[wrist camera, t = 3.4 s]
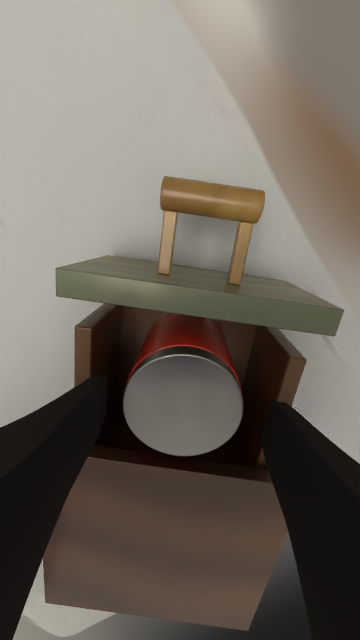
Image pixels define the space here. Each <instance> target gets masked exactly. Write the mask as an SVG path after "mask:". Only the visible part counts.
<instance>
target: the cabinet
mask: <svg viewBox="0 0 360 640" xmlns="http://www.w3.org/2000/svg"><path fill="white" fill-rule="evenodd" d="M287 532H288V528H287V525H286V522H285V519H284V516H283V513H282V510H281V507H280V504H279V501H278V498H277V495H276V492H275V489H274V486H273V483H272V480H271V477H270V474H269V471H268V469H261V468H254V467H247V466H239V465H232V464H225V463H218V462H211V461H204V460H197V459H190V458H183V457H176V456H169V455H162V454H155V453H147V452H140V451H133V450H126V449H119V448H112V447H105V446H98V445H94V446H93V448H92V450H91V452H90V453H89V455H88V457H87V459H86V461H85V463H84V465H83V467H82V469H81V471H80V473H79V475H78V477H77V479H76V481H75V483H74V484H73V486H72V488H71V490H70V493H69V495H68V497H67V499H66V501H65V504H64V506H63V508H62V511H61V513H60V516H59V518H58V521H57V523H56V526H55V528H54V530H53V533H52V536H51V538H50V541H49V543H48V546H47V548H46V551H45V553H44V556H43V567H44V586H45V603H50V604H57V605H65V606H72V607H79V608H86V609H94V610H101V611H108V612H115V613H123V614H130V615H138V616H145V617H152V618H159V619H166V620H173V621H181V622H188V623H195V624H202V625H210V626H217V627H224V628H232V629H239V630H247V631H248V629H249V626H250V624H251V622H252V619H253V617H254V614H255V612H256V609H257V607H258V604H259V601H260V599H261V597H262V594H263V592H264V589H265V587H266V584H267V582H268V579H269V577H270V574H271V572H272V570H273V567H274V564H275V562H276V560H277V557H278V555H279V552H280V550H281V547H282V545H283V542H284V540H285V537H286V535H287Z"/></svg>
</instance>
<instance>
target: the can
mask: <svg viewBox="0 0 360 640" xmlns="http://www.w3.org/2000/svg"><path fill="white" fill-rule="evenodd" d="M243 411H244V402H243V396H242V392H241V386H240V382H239V379H238V376H237V373H236V370H235V367H234V364H233V361H232V358H231V355H230V352H229V349H228V346H227V343H226V340H225V337H224V334H223V332H222V330H221V328H220V326H219V324H218V323H217V321H216V320H215V319H211V318H204V317H197V316H190V315H183V314H176V313H169V312H165V313H163V314H162V315H161V316H159V317H158V318H157V319H156V321H155V322H154V323H153V325H152V326H151V328H150V330H149V332H148V334H147V336H146V339H145V341H144V343H143V345H142V348H141V350H140V352H139V355H138V357H137V359H136V361H135V364H134V366H133V368H132V371H131V373H130V375H129V378H128V381H127V385H126V387H125V391H124V394H123V412H124V416H125V419H126V422H127V424H128V426H129V427H130V429H131V430H132V432H133V433H134V434H135V435H136V437H138V438H139V439H140V440H141V441H142V442H143V443H145V444H146V445H148V446H149V447H151V448H153V449H155V450H157V451H160V452H163V453H166V454H170V455H176V456H193V455H199V454H204V453H207V452H210V451H212V450H214V449H216V448H218V447H220V446H221V445H223V444H224V443H225V442H227V441H228V440H229V439H230V438H231V437H232V436H233V434H234V433H235V432H236V430H237V428H238V427H239V425H240V422H241V419H242V416H243Z"/></svg>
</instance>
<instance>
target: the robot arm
mask: <svg viewBox="0 0 360 640" xmlns="http://www.w3.org/2000/svg"><path fill="white" fill-rule="evenodd" d="M107 383H108V377H106V376H99V375H93V376H91V377H90V378H88V379H86V380H85V381H83V382H82V383H80V384H79V385H77V386H76V387H74V388H73V389H71V390H70V391H68V392H67V393H65V394H63V395H62V396H60V397H59V398H57V399H55V400H54V401H52V402H50V403H48V404H47V405H45V406H43V407H41V408H40V409H38V410H36V411H34V412H32V413H30V414H29V415H27V416H25V417H23V418H21V419H18V420H16V421H14V422H12V423H10V424H8V425H6V426H3V427H1V428H0V640H12V639H13V636H14V634H15V631H16V628H17V625H18V623H19V620H20V617H21V614H22V612H23V609H24V606H25V603H26V601H27V598H28V595H29V593H30V590H31V587H32V585H33V582H34V579H35V577H36V574H37V571H38V569H39V566H40V564H41V561H42V558H43V556H44V553H45V551H46V548H47V546H48V543H49V541H50V538H51V536H52V533H53V530H54V528H55V526H56V523H57V521H58V518H59V516H60V513H61V511H62V508H63V506H64V504H65V501H66V499H67V497H68V495H69V493H70V490H71V488H72V486H73V484H74V483H75V481H76V479H77V477H78V475H79V473H80V471H81V469H82V467H83V465H84V463H85V461H86V459H87V457H88V455H89V453H90V452H91V450H92V448H93V446H94V444H95V442H96V440H97V438H98V435H99V432H100V430H101V427H102V424H103V422H104V419H105V416H106V401H107ZM261 442H262V447H263V453H264V457H265V462H266V465H267V468H268V471H269V474H270V477H271V480H272V483H273V486H274V489H275V492H276V495H277V498H278V501H279V504H280V507H281V510H282V513H283V516H284V519H285V522H286V525H287V528H288V532H289V536H290V540H291V543H292V548H293V552H294V556H295V560H296V564H297V569H298V573H299V578H300V582H301V587H302V591H303V596H304V601H305V605H306V610H307V616H308V621H309V625H310V631H311V636H312V640H360V464H359V463H358V462H356V461H355V460H354V459H352V458H351V457H350V456H349V455H347V454H346V453H345V452H344V451H342V450H341V449H340V448H339V447H337V446H336V445H335V444H334V443H333V442H331V441H330V440H329V439H328V438H327V437H325V436H324V435H323V434H322V433H321V432H320V431H318V430H317V429H316V428H315V427H314V426H313V425H312V424H311V423H309V422H308V421H307V420H306V419H305V418H304V417H303V416H302V415H300V414H299V413H298V412H297V411H296V410H295V409H293V408H292V407H291V406H290V405H289V404H287V403H285V402H278V401H272V403H271V406H270V409H269V413H268V416H267V419H266V422H265V426H264V429H263V432H262V436H261Z"/></svg>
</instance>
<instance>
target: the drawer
mask: <svg viewBox="0 0 360 640" xmlns="http://www.w3.org/2000/svg"><path fill="white" fill-rule="evenodd" d="M264 202H265V192H264V191H263V190H256V189H250V188H243V187H236V186H229V185H222V184H216V183H209V182H202V181H195V180H189V179H182V178H175V177H168V176H165V177H164V178H163V181H162V186H161V196H160V206H161V209H162V210H165V211H164V218H163V228H162V237H161V246H160V255H159V263H157V262H150V261H143V260H136V259H129V258H122V257H116V256H109V255H107V256H103V257H99V258H95V259H91V260H87V261H83V262H79V263H75V264H71V265H67V266H63V267H59V268H56V296H58V297H65V298H72V299H79V300H86V301H93V302H100V303H104V304H103V305H101V306H100V307H99V308H98V309H96V310H95V311H94V312H93V313H91V314H90V315H89V316H88V317H86V318H85V319H84V320H82V321H81V322H80V323H79V324H77V325H76V326H75V387H76V386H77V385H79V384H80V383H82V382H83V381H85V380H86V379H88V378H90V377H91V376H93V375H99V376H106V377H108V383H107V401H106V416H105V419H104V422H103V424H102V427H101V430H100V432H99V435H98V438H97V440H96V442H95V444H94V445H98V446H105V447H112V448H119V449H126V450H133V451H140V452H147V453H155V454H162V455H169V456H176V455H170V454H166V453H163V452H160V451H157V450H155V449H153V448H151V447H149V446H148V445H146V444H145V443H143V442H142V441H141V440H140V439H139V438H138V437H136V435H135V434H134V433H133V432H132V430H131V429H130V427H129V426H128V424H127V422H126V419H125V416H124V412H123V394H124V391H125V387H126V385H127V381H128V378H129V375H130V373H131V371H132V368H133V366H134V364H135V361H136V359H137V357H138V355H139V352H140V350H141V348H142V345H143V343H144V341H145V339H146V336H147V334H148V332H149V330H150V328H151V326H152V325H153V323H154V322H155V321H156V319H157V318H158V317H159V316H161V315H162V314H163V313H165V312H169V313H176V314H183V315H190V316H197V317H204V318H211V319H215V320H216V321H217V323H218V324H219V326H220V328H221V330H222V332H223V334H224V337H225V340H226V343H227V346H228V349H229V352H230V355H231V358H232V361H233V364H234V367H235V370H236V373H237V376H238V379H239V382H240V386H241V392H242V396H243V402H244V411H243V416H242V419H241V422H240V425H239V427H238V428H237V430H236V432H235V433H234V434H233V436H232V437H231V438H230V439H229V440H228V441H227V442H225V443H224V444H223V445H221V446H220V447H218V448H216V449H214V450H212V451H210V452H207V453H204V454H199V455H193V456H176V457H183V458H190V459H197V460H204V461H211V462H218V463H225V464H232V465H239V466H247V467H254V468H261V469H268V468H267V465H266V462H265V457H264V453H263V447H262V442H261V436H262V432H263V429H264V426H265V422H266V419H267V416H268V413H269V409H270V406H271V403H272V401H278V402H285V403H287V404H289V405H290V406H291V405H292V402H293V399H294V396H295V393H296V390H297V387H298V384H299V381H300V378H301V375H302V372H303V369H304V366H305V363H306V359H305V357H304V356H303V355H302V354H301V353H300V352H299V351H298V350H297V349H296V348H295V347H294V346H293V345H292V343H291V342H290V341H289V340H288V339H287V338H286V337H285V336H284V335H283V334H282V333H281V332H280V331H279V329H278V328H280V329H287V330H294V331H301V332H308V333H314V334H321V335H328V336H335V334H336V331H337V329H338V326H339V323H340V320H341V317H342V315H343V312H344V310H343V309H341V308H339V307H337V306H335V305H333V304H331V303H329V302H327V301H325V300H323V299H321V298H319V297H317V296H315V295H313V294H311V293H309V292H306V291H304V290H302V289H300V288H298V287H296V286H294V285H292V284H290V283H288V282H286V281H281V280H274V279H267V278H260V277H253V276H246V275H242V274H243V269H244V264H245V260H246V255H247V250H248V246H249V241H250V236H251V232H252V227H253V224H255V223H257V222H258V221H259V219H260V217H261V214H262V211H263V207H264ZM177 212H178V213H185V214H192V215H199V216H206V217H212V218H219V219H226V220H233V221H240V222H239V223H238V227H237V232H236V238H235V243H234V248H233V253H232V258H231V263H230V268H229V273H226V272H219V271H212V270H205V269H198V268H191V267H184V266H177V265H171V264H172V256H173V249H174V241H175V233H176V225H177V217H178V213H177Z"/></svg>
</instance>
